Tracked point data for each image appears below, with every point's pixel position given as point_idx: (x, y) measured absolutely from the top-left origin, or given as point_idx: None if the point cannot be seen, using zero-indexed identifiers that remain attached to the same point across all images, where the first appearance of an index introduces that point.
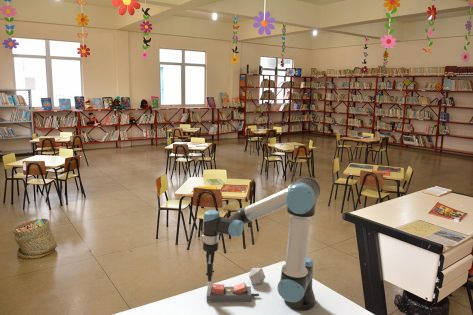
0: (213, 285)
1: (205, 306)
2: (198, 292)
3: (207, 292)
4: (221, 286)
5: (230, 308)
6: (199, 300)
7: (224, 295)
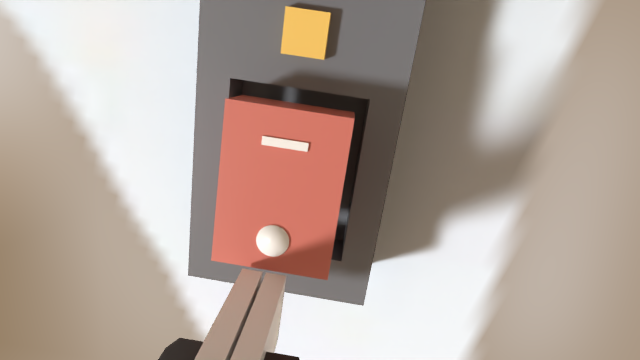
0: (249, 252)
1: (429, 281)
2: (200, 314)
3: (303, 290)
4: (275, 147)
5: (532, 46)
6: (325, 318)
7: (401, 109)
